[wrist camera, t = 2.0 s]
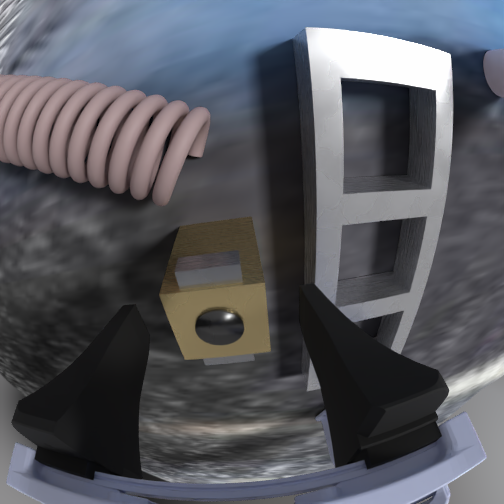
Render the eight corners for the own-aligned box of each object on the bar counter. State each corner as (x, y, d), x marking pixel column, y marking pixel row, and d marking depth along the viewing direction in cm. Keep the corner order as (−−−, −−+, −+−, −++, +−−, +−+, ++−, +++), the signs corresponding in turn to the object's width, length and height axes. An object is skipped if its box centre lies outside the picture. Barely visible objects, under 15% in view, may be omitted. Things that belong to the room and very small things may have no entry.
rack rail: (383, 349, 23) (393, 369, 21) (301, 368, 23) (307, 391, 21) (423, 55, 11) (450, 54, 9) (292, 38, 11) (305, 27, 8)
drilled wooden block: (258, 285, 18) (271, 363, 13) (196, 293, 18) (189, 371, 13) (249, 202, 15) (263, 266, 10) (176, 213, 15) (152, 280, 10)
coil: (218, 108, 9) (-64, 77, 4) (176, 228, 10) (-77, 153, 6) (218, 114, 13) (-20, 76, 8) (188, 198, 15) (-34, 140, 10)
